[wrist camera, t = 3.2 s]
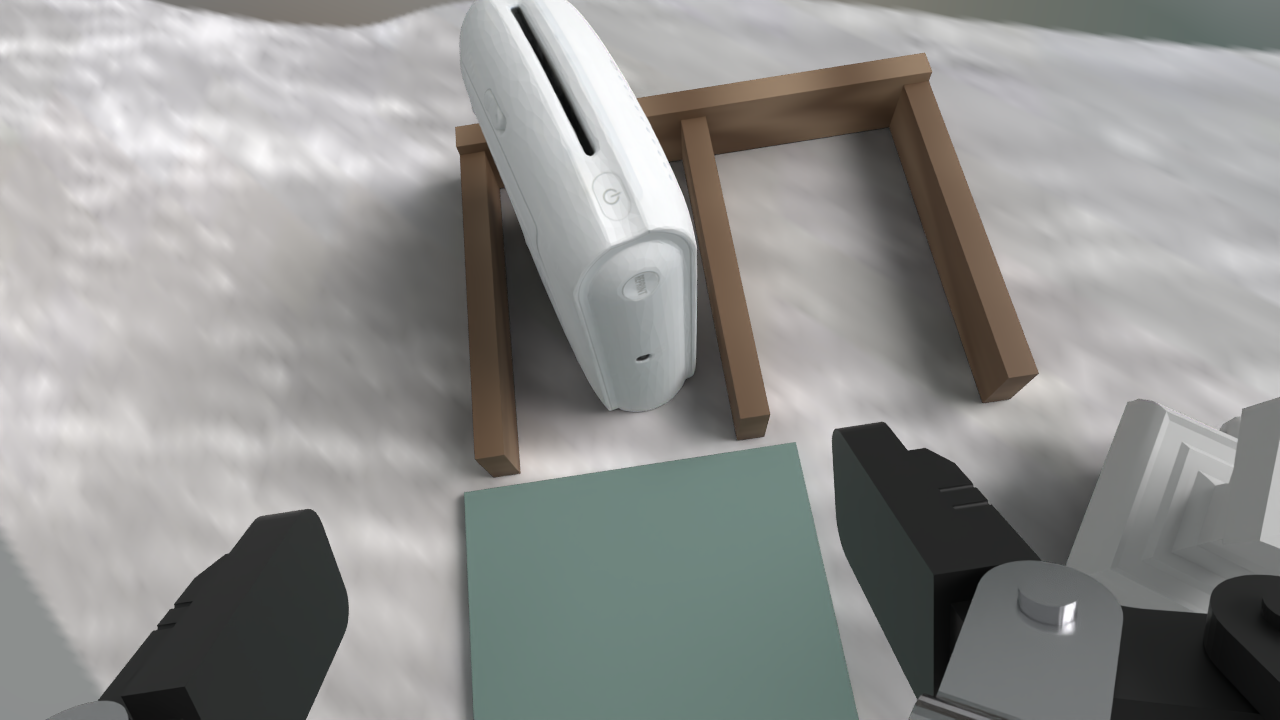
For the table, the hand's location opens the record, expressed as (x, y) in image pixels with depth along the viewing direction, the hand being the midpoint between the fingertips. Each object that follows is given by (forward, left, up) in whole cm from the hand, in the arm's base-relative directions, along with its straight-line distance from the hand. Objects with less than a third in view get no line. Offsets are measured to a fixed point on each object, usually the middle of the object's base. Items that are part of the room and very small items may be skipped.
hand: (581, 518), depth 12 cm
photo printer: (0, -12, -15) cm, 19 cm away
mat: (0, +1, -15) cm, 15 cm away
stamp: (-17, +1, -15) cm, 23 cm away
